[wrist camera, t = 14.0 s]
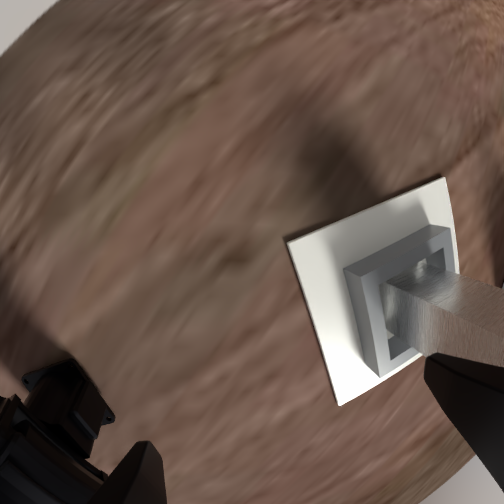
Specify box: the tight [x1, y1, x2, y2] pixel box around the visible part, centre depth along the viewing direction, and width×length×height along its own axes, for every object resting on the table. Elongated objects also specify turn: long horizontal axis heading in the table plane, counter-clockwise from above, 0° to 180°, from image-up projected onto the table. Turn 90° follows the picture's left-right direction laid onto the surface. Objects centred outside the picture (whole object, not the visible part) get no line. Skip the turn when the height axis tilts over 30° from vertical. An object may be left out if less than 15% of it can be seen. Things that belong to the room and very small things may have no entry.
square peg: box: [379, 262, 504, 367], centre depth 17 cm, size 4×4×13 cm
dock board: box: [287, 177, 459, 406], centre depth 22 cm, size 16×16×4 cm
